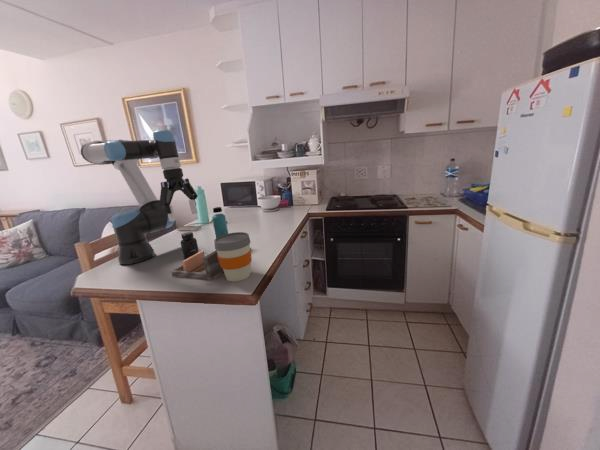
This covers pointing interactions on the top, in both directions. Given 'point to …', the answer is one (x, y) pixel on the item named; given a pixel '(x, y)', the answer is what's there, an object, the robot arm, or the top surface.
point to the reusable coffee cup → (234, 255)
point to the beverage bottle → (219, 222)
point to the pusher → (193, 261)
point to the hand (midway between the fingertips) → (184, 217)
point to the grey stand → (202, 269)
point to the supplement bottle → (189, 245)
